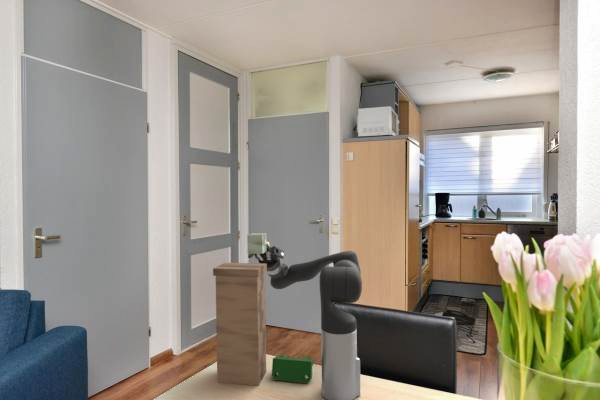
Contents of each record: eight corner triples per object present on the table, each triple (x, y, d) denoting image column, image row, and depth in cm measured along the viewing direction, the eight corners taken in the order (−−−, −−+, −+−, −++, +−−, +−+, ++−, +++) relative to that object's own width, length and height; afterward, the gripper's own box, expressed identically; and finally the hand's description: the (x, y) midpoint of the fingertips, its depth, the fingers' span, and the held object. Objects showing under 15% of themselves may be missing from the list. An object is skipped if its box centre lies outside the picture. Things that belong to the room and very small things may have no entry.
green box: (307, 390, 111) (320, 361, 112) (302, 396, 105) (316, 364, 106) (271, 369, 114) (284, 341, 115) (265, 374, 109) (279, 343, 110)
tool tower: (226, 368, 116) (224, 262, 115) (268, 371, 114) (266, 263, 113) (214, 382, 107) (213, 268, 107) (260, 386, 105) (258, 269, 104)
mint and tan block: (259, 247, 138) (259, 230, 138) (273, 247, 138) (272, 230, 137) (247, 253, 125) (247, 235, 125) (262, 253, 124) (262, 235, 124)
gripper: (254, 252, 147) (241, 234, 132) (289, 252, 145) (280, 234, 130) (251, 271, 144) (238, 254, 129) (288, 272, 141) (278, 255, 126)
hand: (259, 244), depth 129 cm, fingers closed on mint and tan block, 2 cm apart
